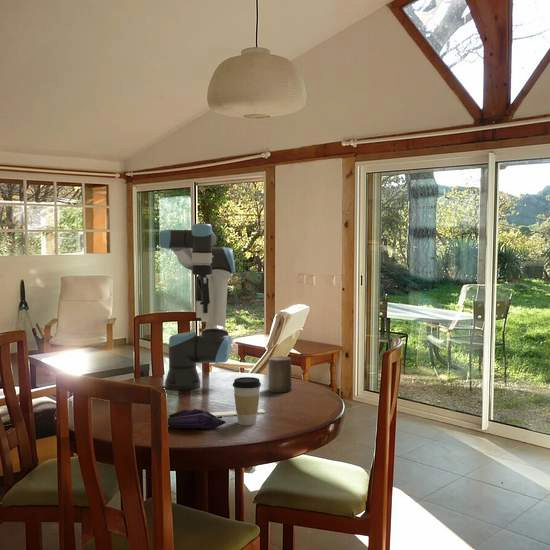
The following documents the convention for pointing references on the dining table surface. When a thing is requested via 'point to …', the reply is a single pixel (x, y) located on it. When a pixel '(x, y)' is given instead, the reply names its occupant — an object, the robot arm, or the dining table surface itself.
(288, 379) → the pillar candle
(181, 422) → the crystal
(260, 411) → the cream flat slat
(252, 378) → the coffee cup
